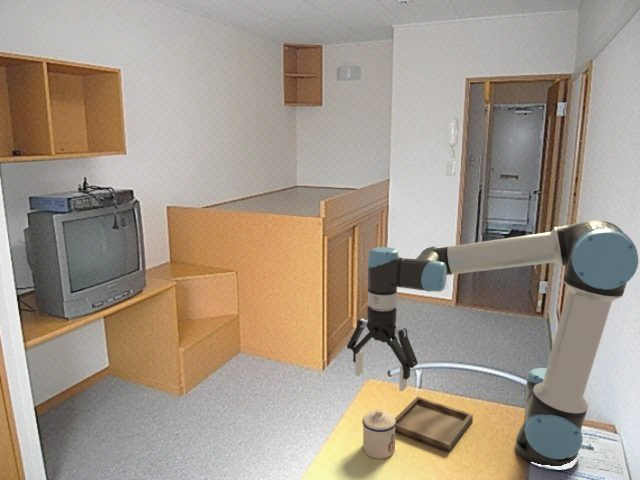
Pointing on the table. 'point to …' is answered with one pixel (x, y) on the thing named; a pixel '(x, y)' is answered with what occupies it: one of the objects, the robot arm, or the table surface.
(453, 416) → the walnut tray
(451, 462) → the table surface
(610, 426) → the table surface
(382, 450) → the teacup with lid
